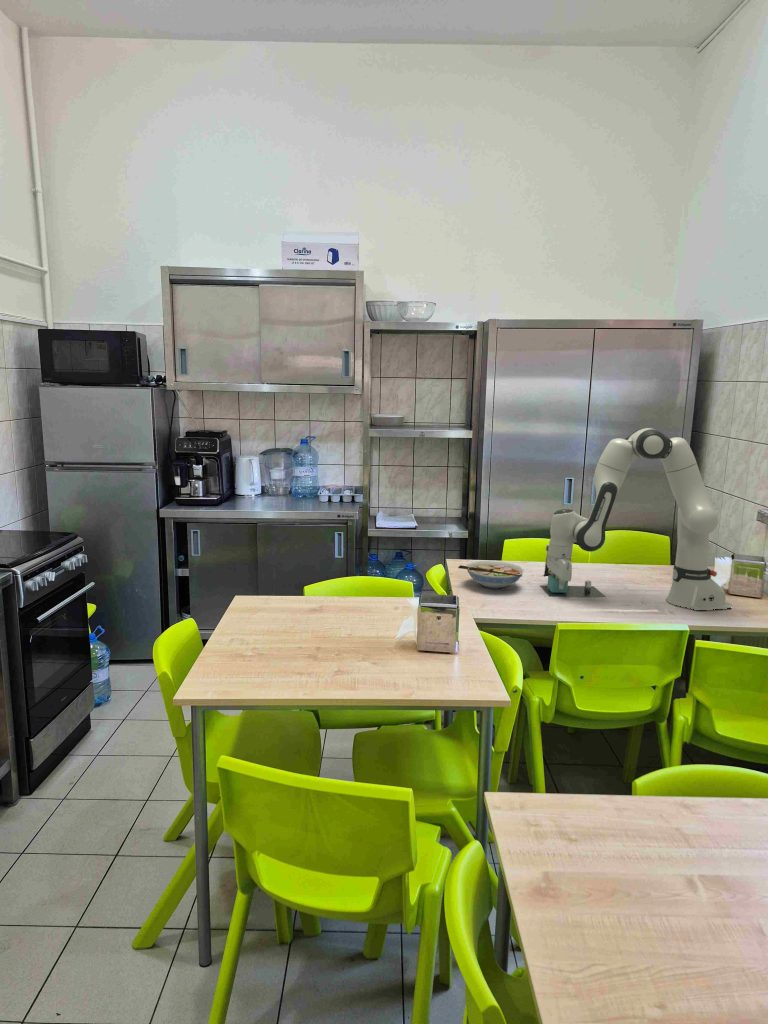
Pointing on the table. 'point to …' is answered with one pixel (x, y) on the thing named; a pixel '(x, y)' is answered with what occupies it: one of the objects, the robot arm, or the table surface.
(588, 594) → the plate
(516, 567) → the ramen bowl
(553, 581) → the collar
